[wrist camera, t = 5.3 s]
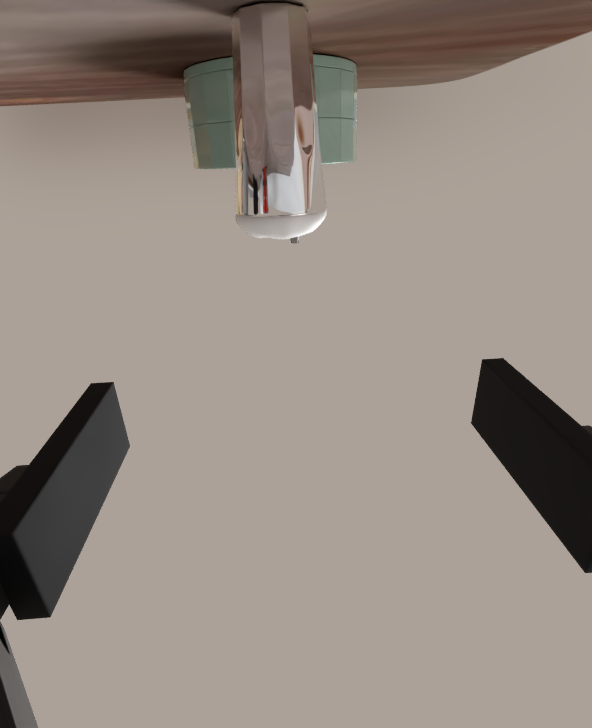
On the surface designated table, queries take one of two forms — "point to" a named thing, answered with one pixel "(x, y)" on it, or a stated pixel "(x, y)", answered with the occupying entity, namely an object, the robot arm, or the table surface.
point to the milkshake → (276, 123)
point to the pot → (216, 110)
